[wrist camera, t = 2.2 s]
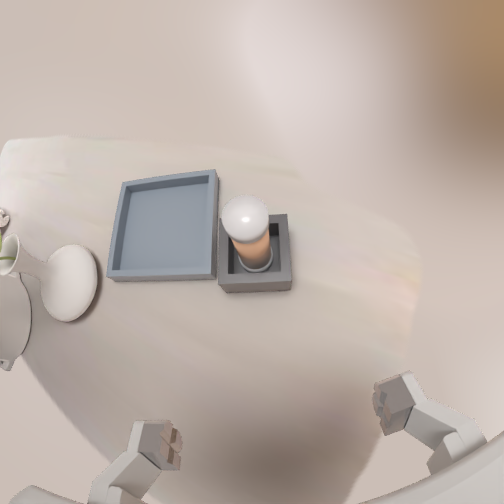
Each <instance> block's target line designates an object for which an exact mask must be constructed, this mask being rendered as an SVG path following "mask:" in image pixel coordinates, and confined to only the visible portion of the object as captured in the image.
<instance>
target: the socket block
mask: <svg viewBox="0 0 504 504" xmlns="http://www.w3.org/2000/svg"><path fill="white" fill-rule="evenodd" d="M268 230H269V238H270V246H271V248H272V251H273V263H272V265H271V267H270V268H269V269H268V270H267V271H266V272H264V273H249V272H247V271H246V270H245V269H244V268H243V267H242V265H241V263H240V260H239V255H238V253H237V251H236V248H235V246H234V244H233V242H232V239H231V238H230V237H229V236H228V234H227V232H226V230H225V228H224V226H223V224H222V220H221V218H220V225H219V266H218V284H219V285H220V286H221V287H222V289H223V290H224V291H225V292H226V293H237V292H263V291H285V290H291V281H292V280H291V263H290V247H289V233H288V219H287V214H280V215H269V228H268Z"/></svg>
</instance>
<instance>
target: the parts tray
mask: <svg viewBox="0 0 504 504" xmlns="http://www.w3.org/2000/svg"><path fill="white" fill-rule="evenodd" d="M218 193H219V178H218V175H217V173H216V170H215V169H214V170H205V171H196V172H188V173H180V174H173V175H165V176H158V177H152V178H145V179H139V180H133V181H127V182H123V183H122V187H121V192H120V196H119V201H118V206H117V211H116V216H115V221H114V227H113V232H112V238H111V245H110V251H109V258H108V266H107V274H106V277H108V278H110V279H112V280H114V281H169V280H204V279H216V250H217V218H218Z"/></svg>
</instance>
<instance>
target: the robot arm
mask: <svg viewBox="0 0 504 504" xmlns="http://www.w3.org/2000/svg"><path fill="white" fill-rule="evenodd" d="M30 326H31V307H30V300H29V296H28V293H27V291H26V288H25V287H24V285H23V284H22V282H21V279H20V274H19V272H12V273H9V274H7V275H4V276H3V275H0V367H1V368H3V369H4V370H6V371H10V370H11V368H12V366H13V363H14V361H15V359H16V358H17V357H18V356H19V355H20V354H21V353H22V352H23V350H24V348H25V346H26V344H27V341H28V337H29V332H30ZM374 390H375V393H374V394H373V398H372V401H373V407H374V410H375V413H376V415H377V416H379V417H381V420H380V425H381V428H382V430H383V433H384V435H385V436H386V435H389V434H392V433H394V432H397V431H400V430H403V429H404V430H405V431H406V432H408V433H409V434H410V435H412V436H413V437H415V438H416V439H418V440H419V441H421V442H422V443H424V444H425V445H427V446H428V447H429V448H431V449H433V450H434V453H433V454H432V456H431V457H430V458H429V459H428V461H427V466H428V468H429V471H430V473H431V476H429V477H427V478H424V479H422V480H420V481H418V482H416V483H413V484H411V485H409V486H406V487H404V488H402V489H399V490H397V491H394V492H391V493H389V494H386V495H383V496H381V497H378V498H375V499H372V500H369V501H366V502H362V503H359V504H504V431H503V432H501V433H500V434H499V435H497V436H496V437H494V438H493V439H492V440H490V441H489V442H487V440H486V439H485V437H484V435H483V433H482V431H481V430H480V428H479V426H478V424H477V423H476V421H475V419H474V418H471V417H469V416H467V415H465V414H463V413H461V412H459V411H456V410H454V409H452V408H450V407H448V406H446V405H444V404H442V403H440V402H438V401H436V400H434V399H432V398H431V399H428V398H427V397H426V395H425V393H424V391H423V390H422V388H421V386H420V384H419V383H418V381H417V379H416V378H415V376H414V374H413V373H412V372H411V371H406V372H404V373H401V374H399V375H395V376H393V377H390V378H387V379H385V380H382V381H379V382H376V383H375V384H374ZM172 426H173V424H172V423H171V422H170V421H169V420H158V421H148V420H136V421H135V422H134V423H133V427H132V431H131V435H130V439H129V443H128V447H127V451H123V452H122V453H121V454H120V455H119V456H118V457H117V458H116V459H115V460H114V461H113V462H112V463H111V464H110V465H109V466H108V467H107V468H106V469H105V470H104V471H103V472H102V473H101V474H100V475H99V476H98V477H97V478H96V479H95V480H94V481H93V482H92V486H91V490H90V495H89V499H88V503H87V504H147V503H145V502H143V501H142V500H141V498H142V497H143V496H144V494H145V493H146V492H147V490H148V489H149V488H150V486H151V485H152V484H153V482H154V481H155V480H156V478H157V477H158V476H159V474H160V473H161V470H180V461H181V457H180V456H179V454H178V453H179V451H180V450H181V449H182V437H181V435H180V432H179V431H178V430H177V429H175V428H173V427H172ZM9 504H83V503H79V502H76V501H73V500H70V499H67V498H65V497H62V496H59V495H56V494H54V493H51V492H49V491H46V490H44V489H41V488H39V487H37V486H33V485H31V486H28V487H26V488H25V489H23V490H22V491H21V492H19V493H18V494H17V495H15V496H14V497H13V498H12V499H11V501H10V503H9Z"/></svg>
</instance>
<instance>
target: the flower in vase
mask: <svg viewBox="0 0 504 504" xmlns="http://www.w3.org/2000/svg"><path fill="white" fill-rule="evenodd" d="M12 272H22V273H26V274H29V275H32V276H34V277H36V278H38V279H39V280H40V292H41V297H42V301H43V304H44V306H45V308H46V310H47V311H48V312H49V313H50V314H51V315H52V316H53V317H54V318H55V319H57V320H59V321H63V322H68V321H72V320H75V319H76V318H78V317H79V316H81V315H82V314H83V313H84V312H85V311H86V309H87V308H88V307H89V305H90V304H91V302H92V300H93V297H94V295H95V291H96V287H97V268H96V263H95V260H94V258H93V256H92V254H91V253H90V251H89V250H88V249H87V248H85V247H84V246H81V245H76V244H70V245H66V246H63V247H61V248H60V249H58V250H57V251H56V252H54V253H53V254H52V255H51V256H50V258H49V259H48V260H47V262H43V261H40V260H38V259H36V258H35V257H33V256H32V255H30V254H29V253H28V252H27V251H25V250H24V248H23V247H22V246H21V243H20V240H19V238H18V236H17V235H16V234H14V233H12V234H9V235H8V236H7V237H6V238H5V239H4V241H3V242H2V238H1V233H0V275H3V276H4V275H7V274H9V273H12Z"/></svg>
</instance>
